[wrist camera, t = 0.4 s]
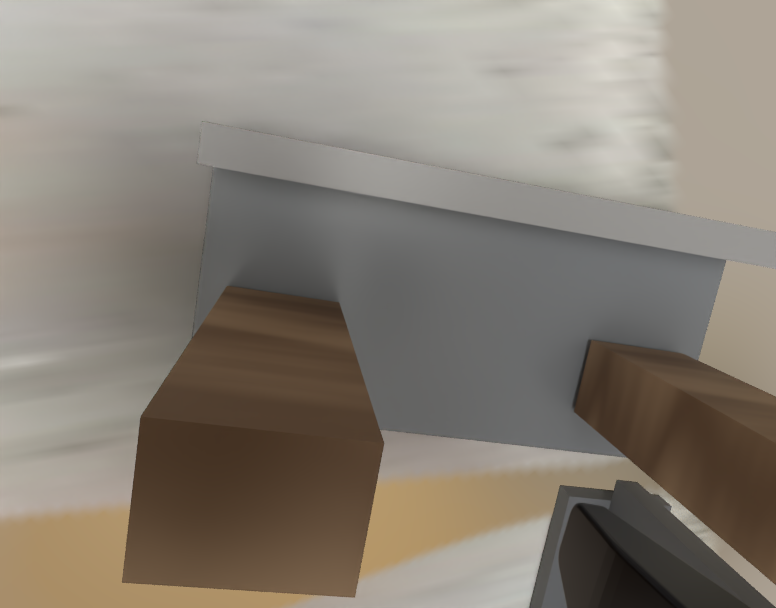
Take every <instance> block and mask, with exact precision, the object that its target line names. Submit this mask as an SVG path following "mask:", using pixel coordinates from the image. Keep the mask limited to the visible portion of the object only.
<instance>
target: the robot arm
mask: <svg viewBox="0 0 776 608" xmlns="http://www.w3.org/2000/svg"><path fill="white" fill-rule="evenodd" d="M558 563H559V570H560V575H561V580H562V585H563V590H564V595H565V600H566V605H567V608H751V607H750V606H748V605H747V604H745V603H744V602H742V601H741V600H739V599H738V598H736V597H735V596H734V595H732V594H731V593H729V592H728V591H726V590H725V589H723V588H722V587H720V586H719V585H717V584H716V583H715V582H713V581H712V580H710V579H709V578H707V577H706V576H704V575H703V574H701V573H700V572H699V571H697V570H696V569H694V568H693V567H691V566H690V565H688V564H687V563H685V562H684V561H683V560H681V559H680V558H678V557H677V556H675V555H674V554H672V553H671V552H669V551H668V550H667V549H665V548H664V547H662V546H661V545H659V544H658V543H656V542H655V541H653V540H652V539H651V538H649V537H648V536H646V535H645V534H643V533H642V532H640V531H639V530H637V529H636V528H635V527H633V526H632V525H630V524H629V523H627V522H626V521H624V520H623V519H621V518H620V517H619V516H617V515H616V514H614V513H613V512H611V511H610V510H608V509H607V508H605V507H603V506H600V505H594V504H587V503H577V504H575V505H574V506H573V508H572V510H571V512H570V515H569V518H568V522H567V525H566V528H565V532H564V535H563V538H562V541H561V545H560V548H559V554H558Z"/></svg>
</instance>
